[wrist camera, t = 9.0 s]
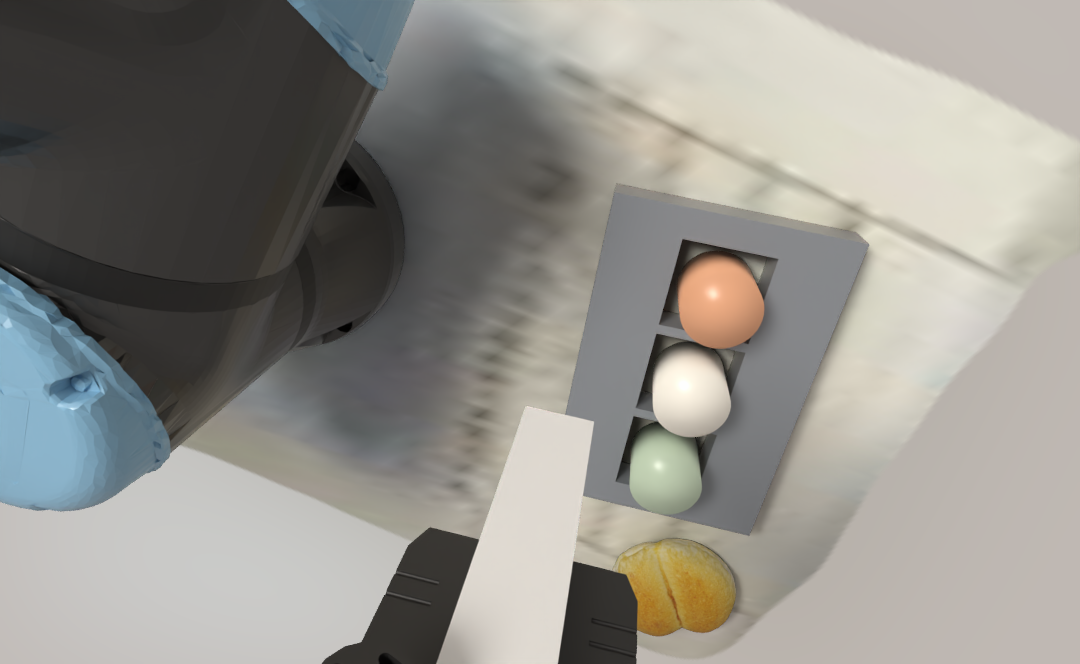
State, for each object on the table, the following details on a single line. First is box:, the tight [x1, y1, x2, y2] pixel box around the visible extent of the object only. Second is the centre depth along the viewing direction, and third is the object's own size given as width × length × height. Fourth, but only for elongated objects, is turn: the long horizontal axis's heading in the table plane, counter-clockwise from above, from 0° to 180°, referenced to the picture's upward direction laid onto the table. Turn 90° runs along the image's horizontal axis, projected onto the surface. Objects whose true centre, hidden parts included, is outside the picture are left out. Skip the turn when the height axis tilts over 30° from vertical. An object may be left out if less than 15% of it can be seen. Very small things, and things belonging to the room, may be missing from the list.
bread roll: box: [613, 539, 736, 636], centre depth 47 cm, size 8×9×4 cm
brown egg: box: [677, 250, 764, 349], centre depth 36 cm, size 4×4×4 cm
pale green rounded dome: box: [630, 422, 702, 515], centre depth 41 cm, size 4×4×4 cm
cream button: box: [653, 341, 731, 437], centre depth 38 cm, size 4×4×4 cm
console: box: [565, 184, 869, 536], centre depth 40 cm, size 14×21×2 cm, turn 170°
